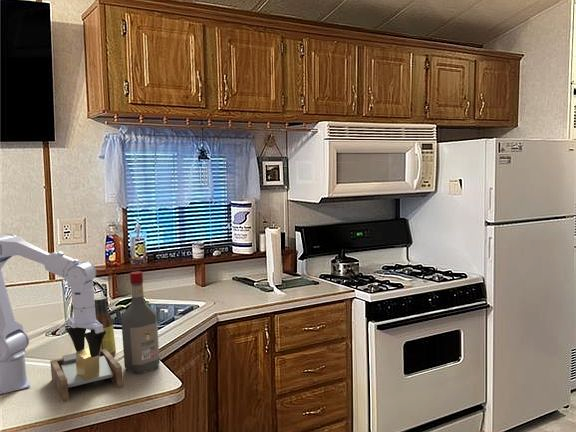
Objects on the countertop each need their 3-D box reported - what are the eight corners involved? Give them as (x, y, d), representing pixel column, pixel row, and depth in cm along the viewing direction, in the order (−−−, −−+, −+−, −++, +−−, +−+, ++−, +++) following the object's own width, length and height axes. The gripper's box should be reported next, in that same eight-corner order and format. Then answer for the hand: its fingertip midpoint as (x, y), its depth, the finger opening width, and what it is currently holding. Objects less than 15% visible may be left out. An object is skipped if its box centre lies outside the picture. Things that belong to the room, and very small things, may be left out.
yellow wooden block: (76, 374, 147) (75, 352, 145) (90, 368, 151) (90, 346, 149) (85, 381, 145) (84, 358, 143) (99, 374, 148) (98, 352, 146)
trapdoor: (59, 364, 154) (58, 356, 153) (101, 355, 160) (101, 347, 160) (68, 390, 143) (68, 381, 142) (113, 379, 150) (113, 370, 149)
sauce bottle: (118, 352, 177) (114, 295, 174) (112, 359, 170) (108, 299, 168) (98, 353, 176) (94, 295, 174) (92, 360, 170) (88, 300, 168)
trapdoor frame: (51, 380, 155) (50, 360, 155) (107, 367, 164) (105, 348, 163) (62, 402, 140) (61, 380, 140) (123, 386, 149) (121, 366, 148)
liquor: (163, 366, 163) (157, 271, 160) (136, 375, 156) (129, 277, 153) (148, 359, 169) (142, 268, 166) (121, 368, 163) (115, 273, 160)
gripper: (56, 305, 147) (60, 352, 149) (85, 313, 138) (88, 363, 140) (79, 300, 153) (83, 345, 154) (108, 307, 144) (112, 355, 145)
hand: (87, 353), depth 147 cm, fingers open, 7 cm apart
